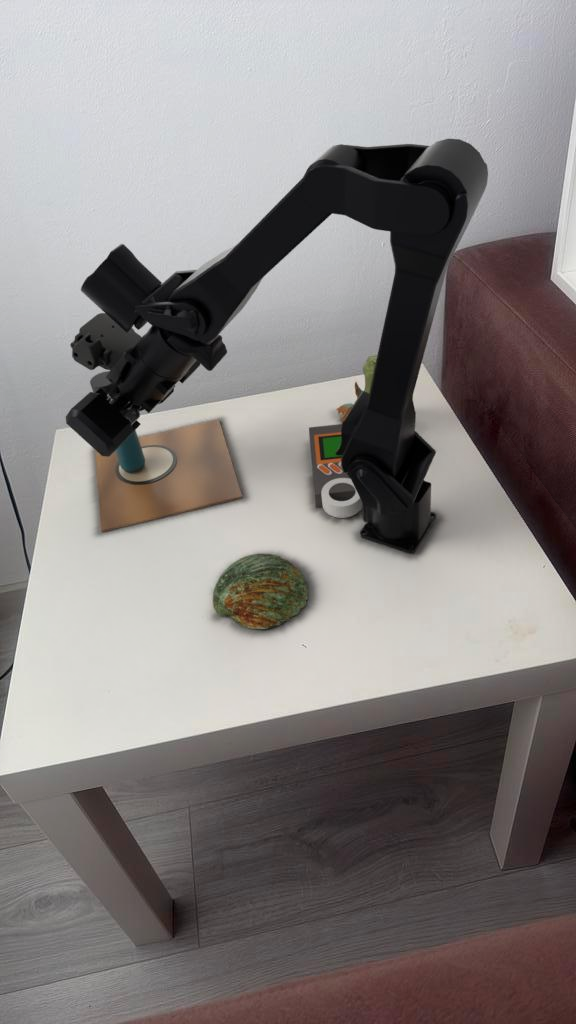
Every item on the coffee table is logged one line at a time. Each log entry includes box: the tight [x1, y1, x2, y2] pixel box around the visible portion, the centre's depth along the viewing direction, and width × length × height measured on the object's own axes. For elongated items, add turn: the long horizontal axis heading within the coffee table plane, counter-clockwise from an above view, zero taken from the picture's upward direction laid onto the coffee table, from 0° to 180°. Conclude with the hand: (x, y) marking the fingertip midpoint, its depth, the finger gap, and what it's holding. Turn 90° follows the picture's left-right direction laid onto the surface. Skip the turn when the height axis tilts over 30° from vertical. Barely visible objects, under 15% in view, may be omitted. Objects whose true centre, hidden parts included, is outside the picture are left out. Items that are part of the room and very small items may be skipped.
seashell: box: [212, 553, 309, 630], centre depth 75 cm, size 10×4×10 cm
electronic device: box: [308, 423, 362, 519], centre depth 88 cm, size 7×3×15 cm
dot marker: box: [89, 370, 145, 473], centre depth 90 cm, size 3×3×13 cm
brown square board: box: [94, 418, 243, 533], centre depth 93 cm, size 17×17×1 cm
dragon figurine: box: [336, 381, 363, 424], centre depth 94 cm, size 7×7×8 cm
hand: (110, 422), depth 90 cm, fingers closed on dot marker, 3 cm apart
